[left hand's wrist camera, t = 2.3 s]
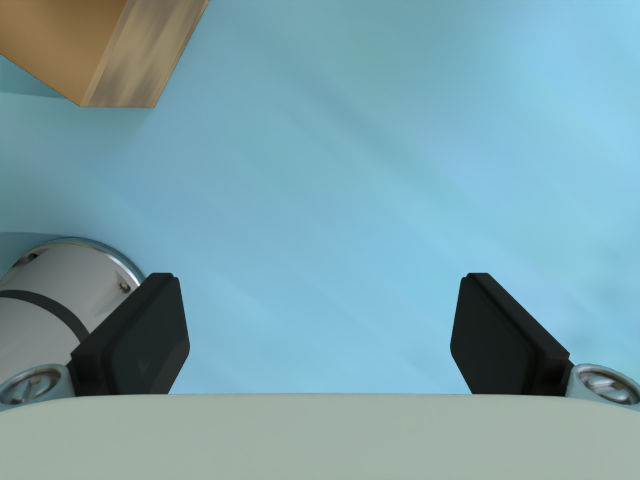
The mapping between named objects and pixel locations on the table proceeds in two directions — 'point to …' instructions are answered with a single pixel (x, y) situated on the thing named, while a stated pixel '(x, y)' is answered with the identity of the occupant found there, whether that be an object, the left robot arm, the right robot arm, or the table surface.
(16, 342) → the right robot arm
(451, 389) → the table surface
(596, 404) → the left robot arm
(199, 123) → the table surface
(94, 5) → the cabinet
